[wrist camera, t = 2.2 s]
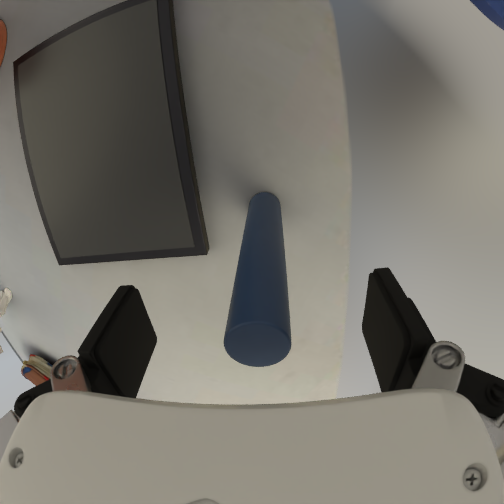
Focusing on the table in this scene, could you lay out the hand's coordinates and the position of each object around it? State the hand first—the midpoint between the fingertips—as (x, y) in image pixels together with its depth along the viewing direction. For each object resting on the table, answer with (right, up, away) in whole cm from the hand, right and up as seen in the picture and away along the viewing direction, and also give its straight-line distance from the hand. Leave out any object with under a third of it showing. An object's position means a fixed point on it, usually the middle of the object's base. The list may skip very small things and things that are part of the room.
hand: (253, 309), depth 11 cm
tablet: (-12, +11, +7) cm, 17 cm away
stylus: (+1, +5, +9) cm, 11 cm away
